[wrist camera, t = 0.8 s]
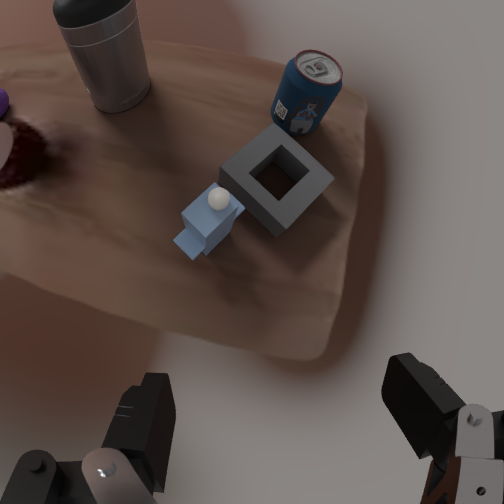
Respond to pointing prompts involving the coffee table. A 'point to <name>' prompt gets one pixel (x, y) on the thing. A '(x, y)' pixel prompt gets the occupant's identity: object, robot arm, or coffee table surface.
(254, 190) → the grey block with hole
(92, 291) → the coffee table surface
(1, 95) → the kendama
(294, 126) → the soda can
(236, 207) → the block
